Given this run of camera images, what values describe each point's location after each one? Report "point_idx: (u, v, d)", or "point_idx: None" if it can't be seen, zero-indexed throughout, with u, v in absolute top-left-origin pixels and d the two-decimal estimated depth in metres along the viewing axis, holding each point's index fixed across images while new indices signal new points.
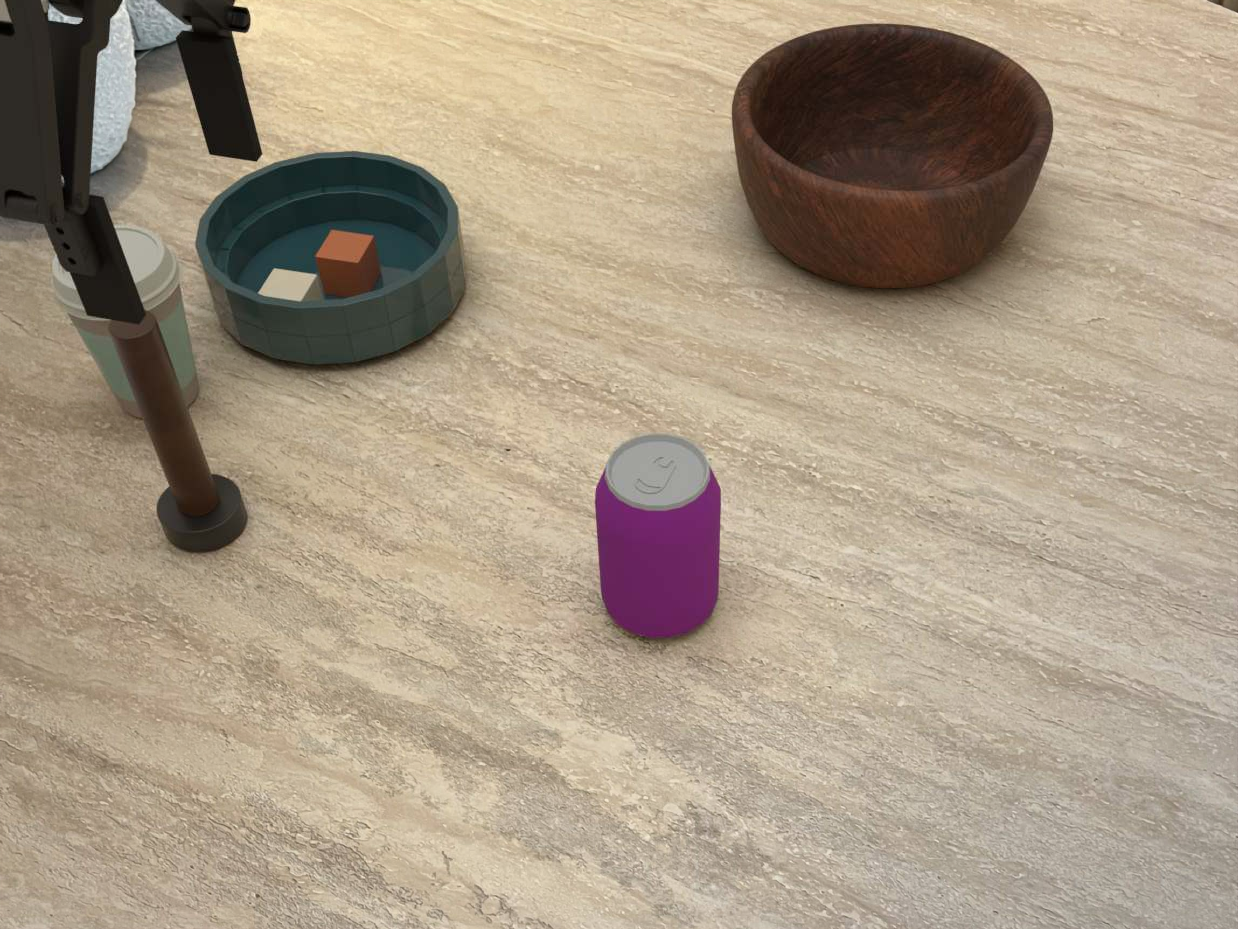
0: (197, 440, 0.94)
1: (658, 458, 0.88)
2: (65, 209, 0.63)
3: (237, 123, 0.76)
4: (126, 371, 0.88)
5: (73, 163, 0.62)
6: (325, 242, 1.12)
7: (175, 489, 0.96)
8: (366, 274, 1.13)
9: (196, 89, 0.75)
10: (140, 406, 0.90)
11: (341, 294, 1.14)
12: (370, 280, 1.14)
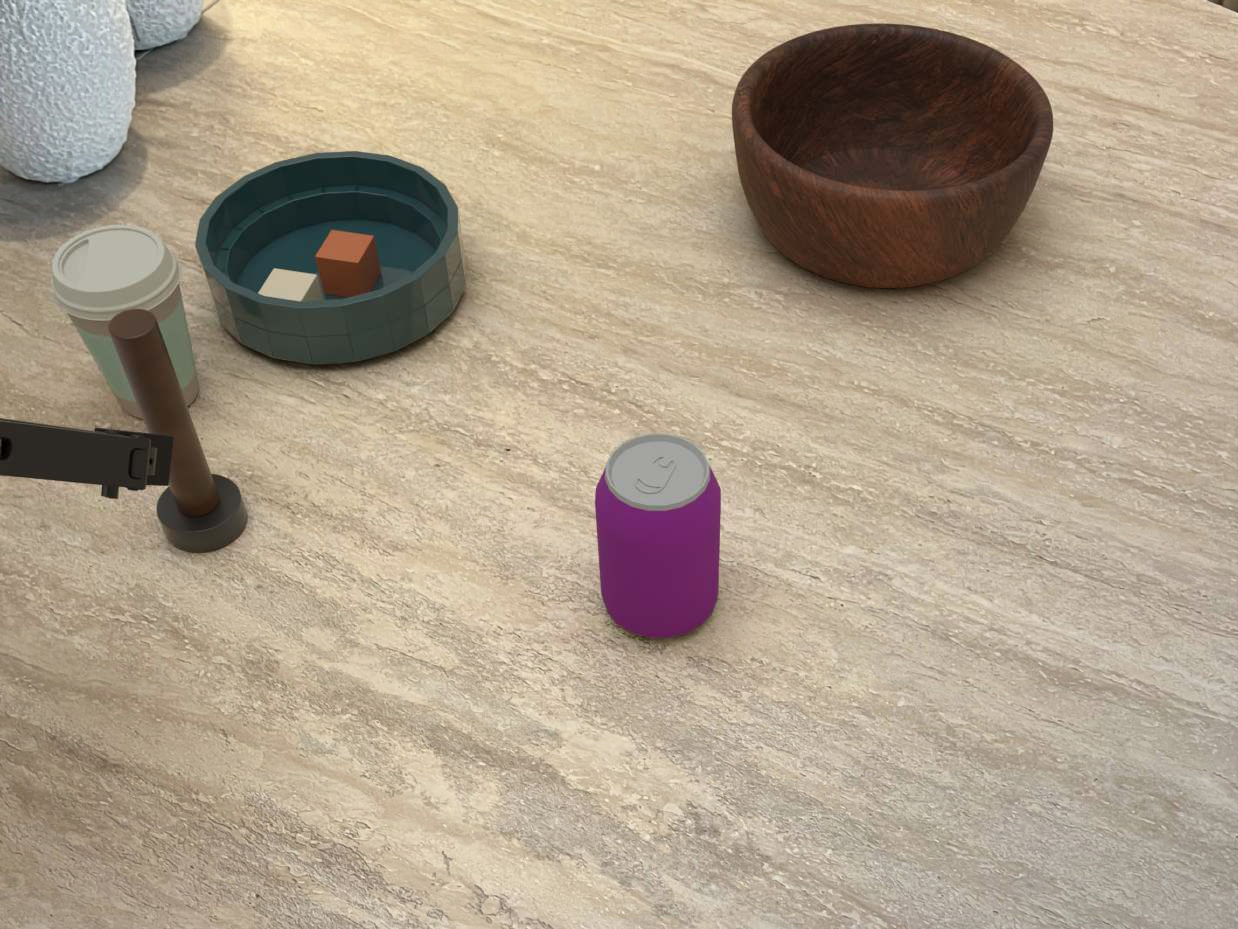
0: (197, 440, 0.94)
1: (658, 458, 0.88)
2: None
3: None
4: (126, 371, 0.88)
5: None
6: (325, 242, 1.12)
7: (175, 489, 0.96)
8: (366, 274, 1.13)
9: None
10: (140, 406, 0.90)
11: (341, 294, 1.14)
12: (370, 280, 1.14)
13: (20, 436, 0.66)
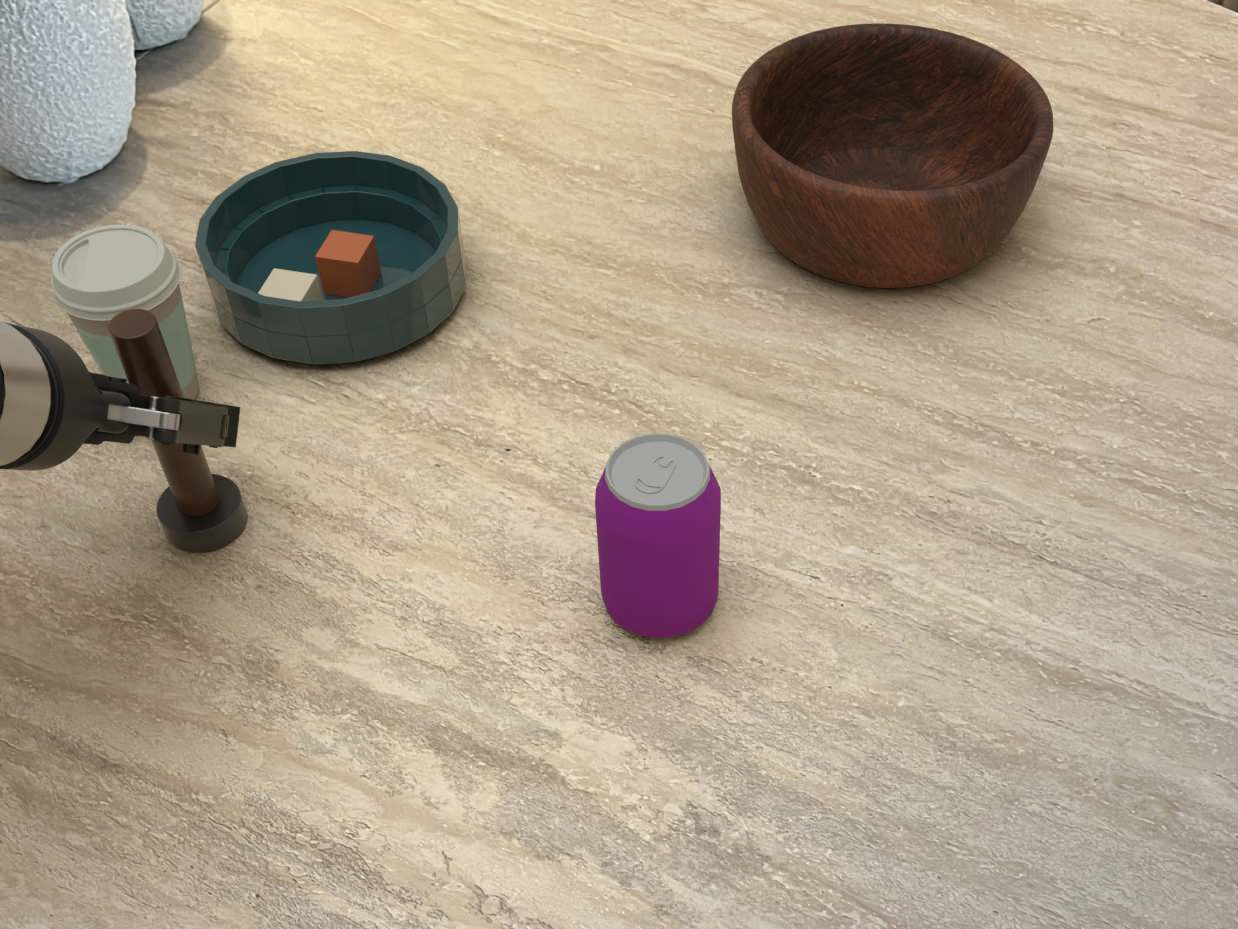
0: None
1: (658, 458, 0.88)
2: None
3: None
4: (126, 371, 0.88)
5: None
6: (325, 242, 1.12)
7: (175, 489, 0.96)
8: (366, 274, 1.13)
9: None
10: None
11: (341, 294, 1.14)
12: (370, 280, 1.14)
13: (185, 411, 0.83)
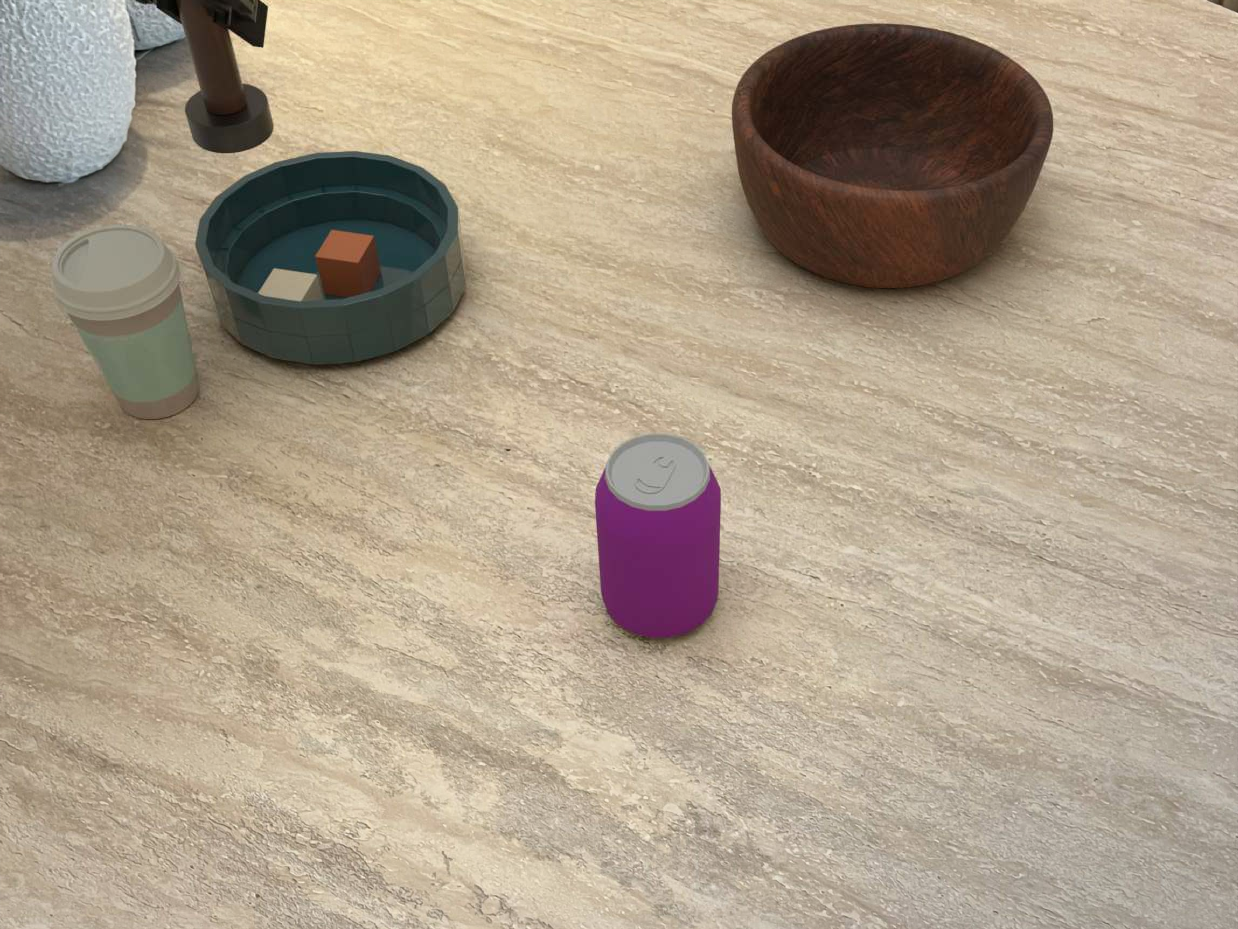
0: None
1: (658, 458, 0.88)
2: None
3: None
4: None
5: None
6: (325, 242, 1.12)
7: (203, 80, 0.98)
8: (366, 274, 1.13)
9: None
10: None
11: (341, 294, 1.14)
12: (370, 280, 1.14)
13: None
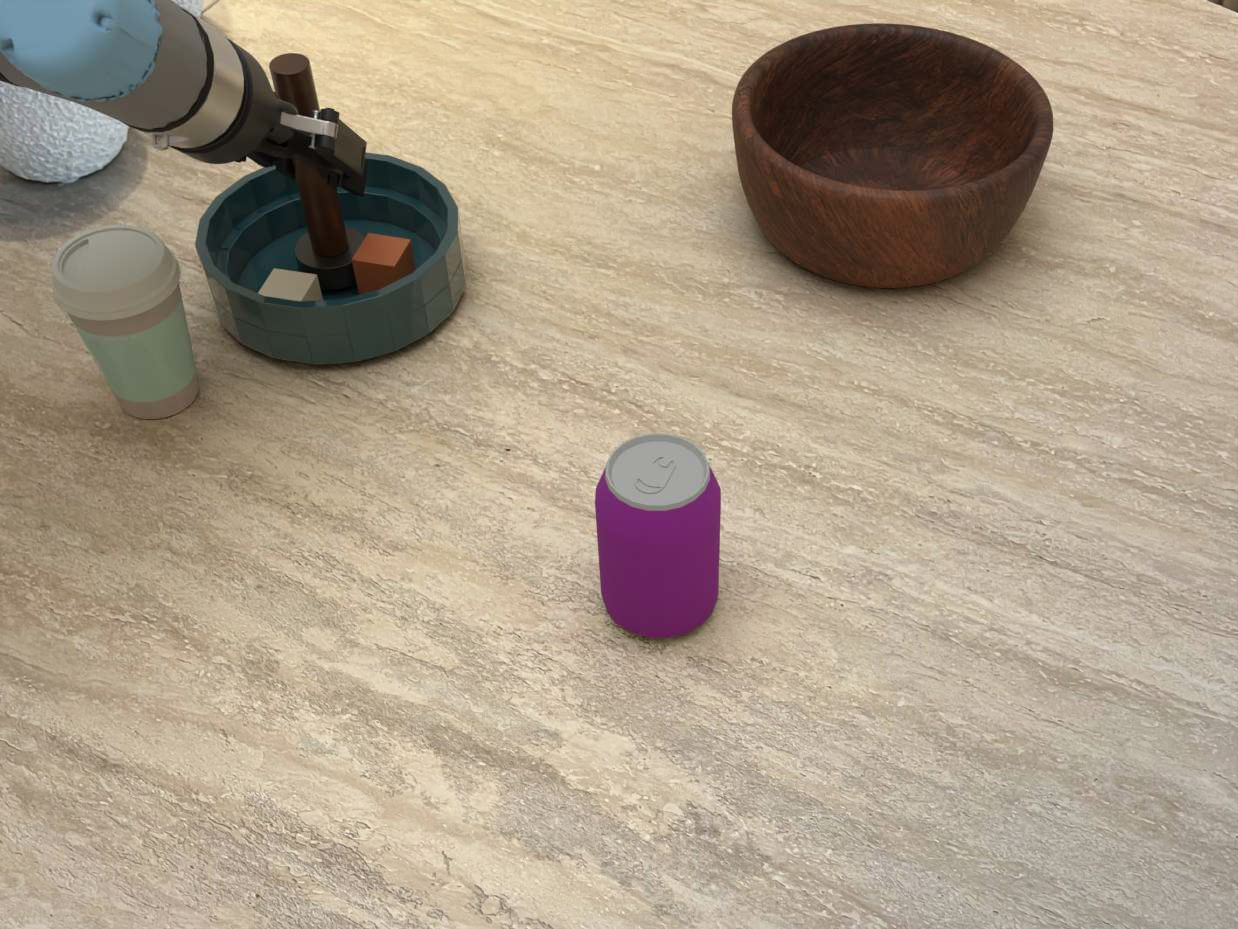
0: None
1: (658, 458, 0.88)
2: None
3: None
4: None
5: (250, 158, 1.05)
6: (362, 245, 1.12)
7: (313, 228, 1.11)
8: None
9: None
10: None
11: None
12: None
13: (339, 128, 0.98)
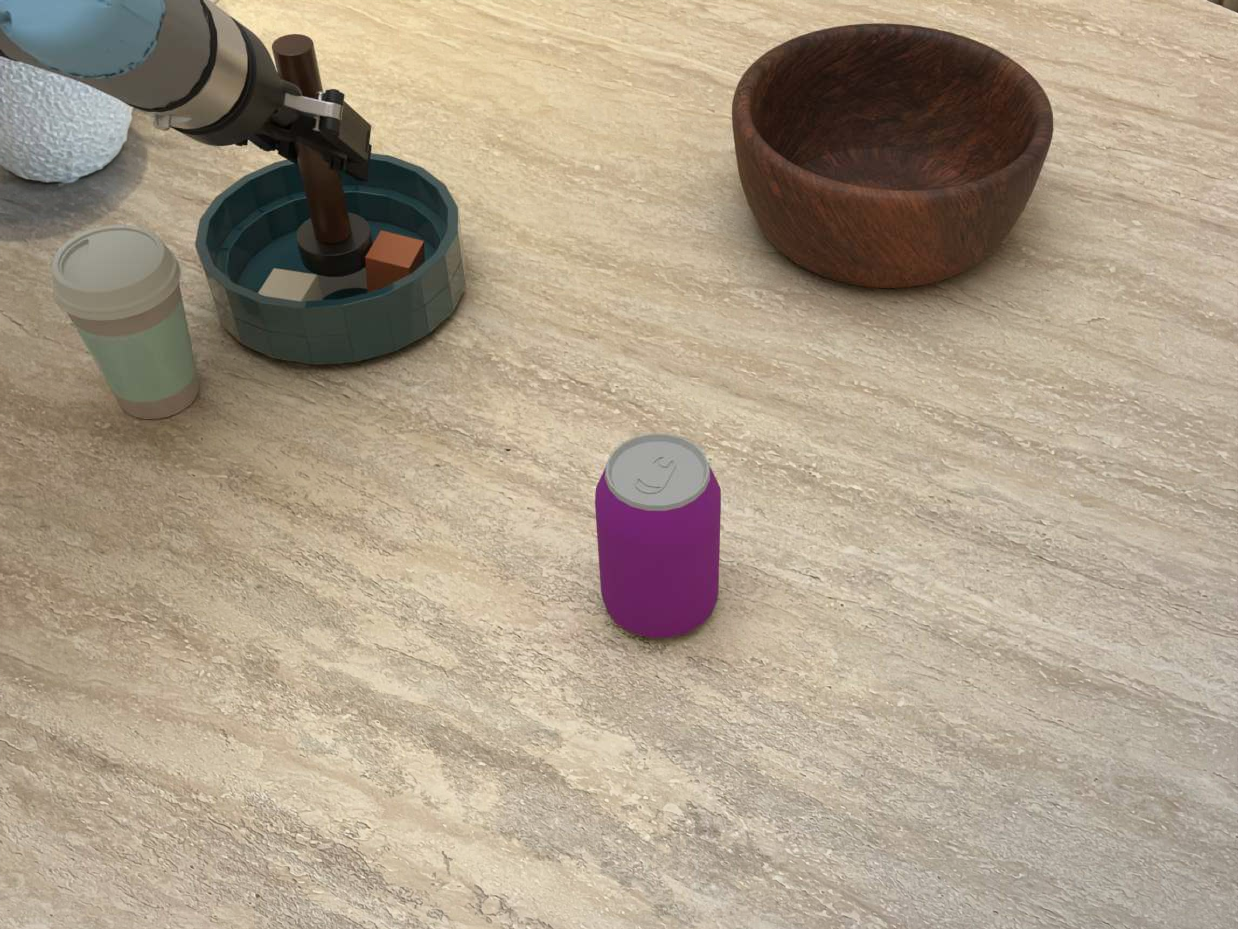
0: None
1: (658, 458, 0.88)
2: None
3: None
4: None
5: (252, 141, 1.03)
6: (375, 243, 1.12)
7: (315, 214, 1.09)
8: None
9: None
10: None
11: None
12: None
13: (344, 110, 0.96)
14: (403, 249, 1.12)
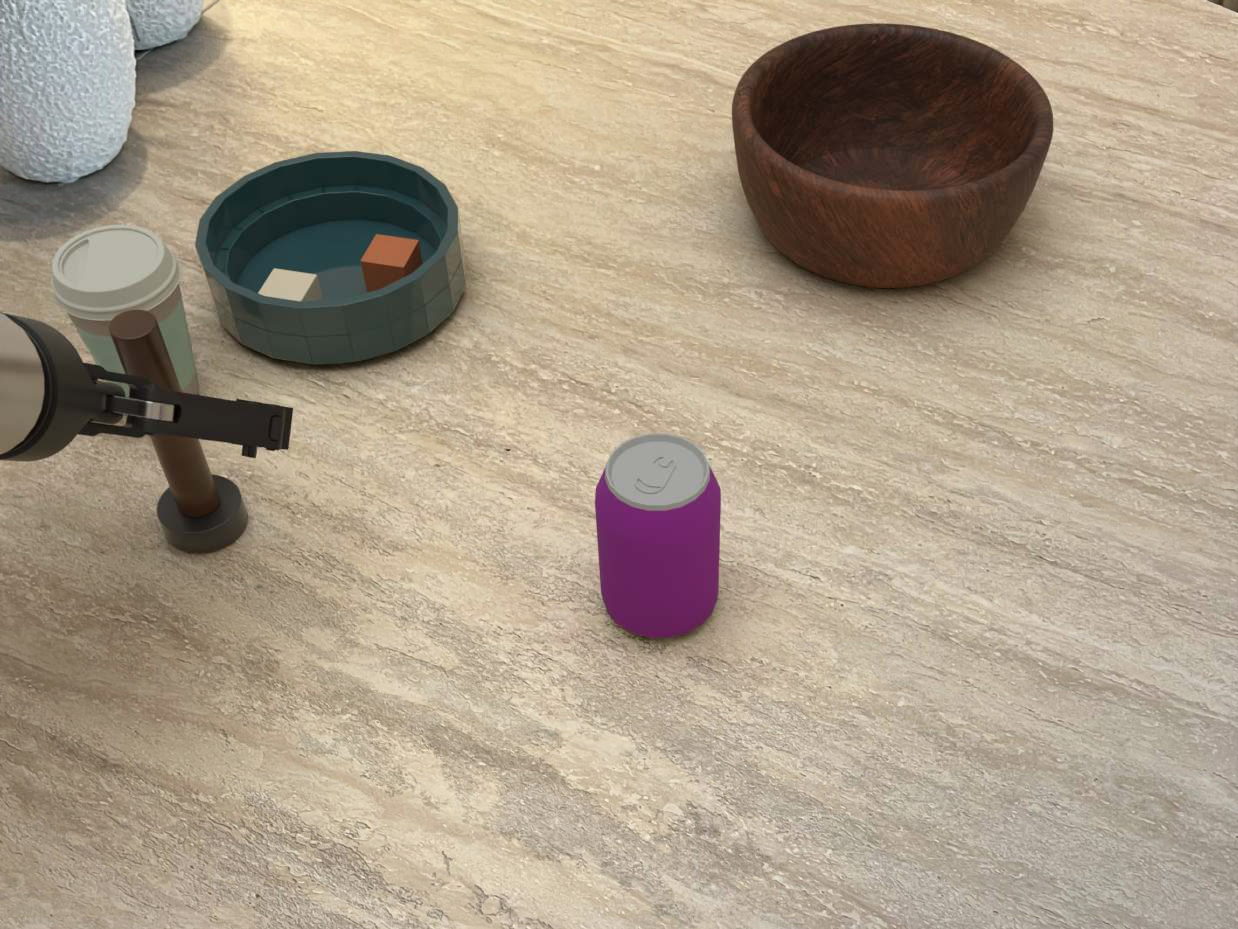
0: (197, 441, 0.94)
1: (658, 458, 0.88)
2: None
3: None
4: (126, 372, 0.88)
5: None
6: (370, 246, 1.12)
7: (175, 490, 0.96)
8: None
9: None
10: None
11: None
12: None
13: (188, 403, 0.81)
14: (398, 250, 1.12)
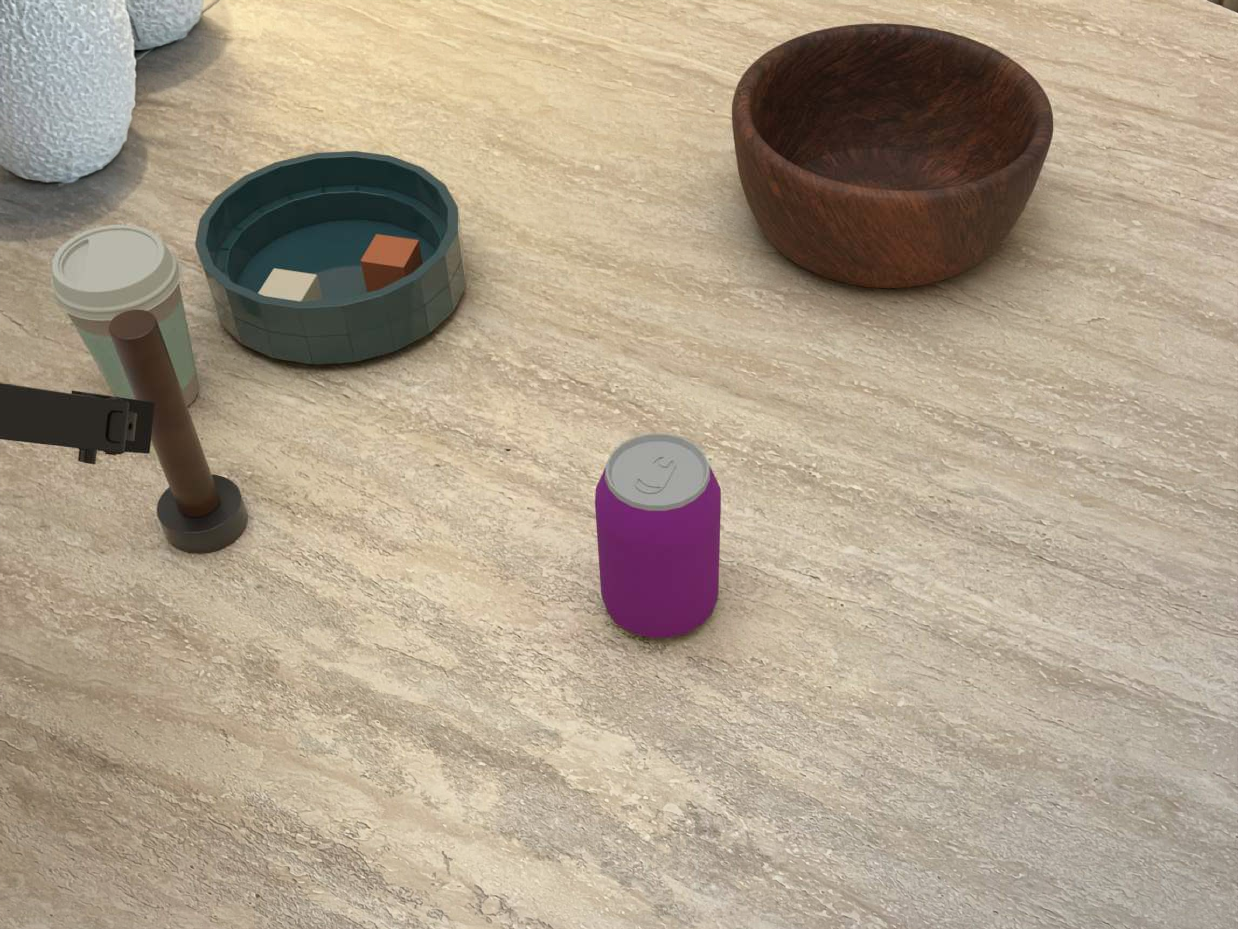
0: (197, 441, 0.94)
1: (658, 458, 0.88)
2: None
3: None
4: (126, 372, 0.88)
5: None
6: (370, 246, 1.12)
7: (175, 490, 0.96)
8: None
9: None
10: None
11: None
12: None
13: None
14: (398, 250, 1.12)
